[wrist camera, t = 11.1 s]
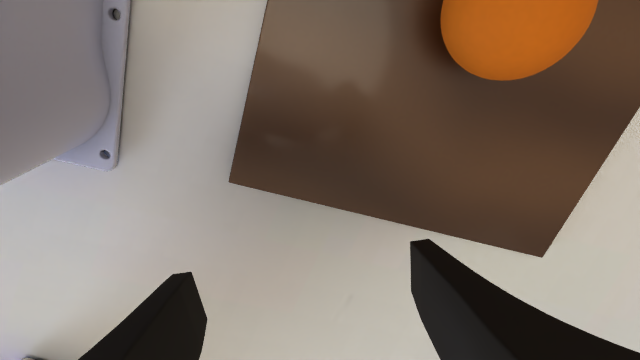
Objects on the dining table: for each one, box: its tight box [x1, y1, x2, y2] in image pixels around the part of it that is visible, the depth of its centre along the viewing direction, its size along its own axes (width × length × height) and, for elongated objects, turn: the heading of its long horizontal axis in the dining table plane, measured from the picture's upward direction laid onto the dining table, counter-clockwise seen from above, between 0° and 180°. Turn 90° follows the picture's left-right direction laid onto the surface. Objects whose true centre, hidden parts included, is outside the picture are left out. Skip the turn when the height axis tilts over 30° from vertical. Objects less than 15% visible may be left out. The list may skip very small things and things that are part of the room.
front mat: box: [229, 0, 640, 257], centre depth 18 cm, size 20×21×1 cm
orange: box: [441, 0, 598, 81], centre depth 14 cm, size 6×6×6 cm
